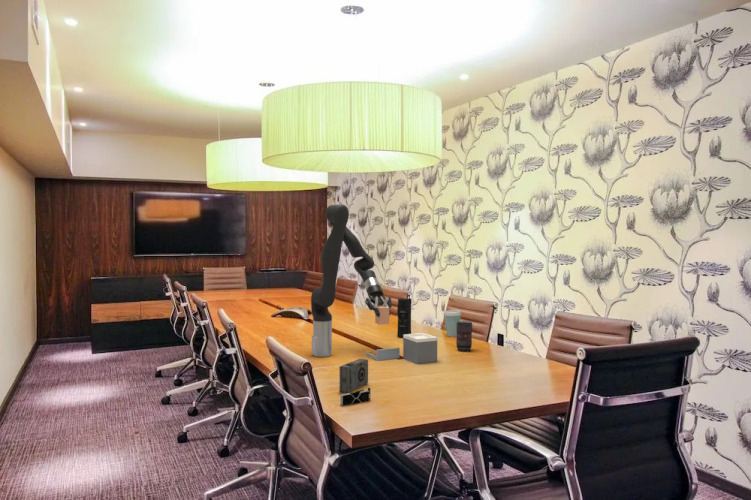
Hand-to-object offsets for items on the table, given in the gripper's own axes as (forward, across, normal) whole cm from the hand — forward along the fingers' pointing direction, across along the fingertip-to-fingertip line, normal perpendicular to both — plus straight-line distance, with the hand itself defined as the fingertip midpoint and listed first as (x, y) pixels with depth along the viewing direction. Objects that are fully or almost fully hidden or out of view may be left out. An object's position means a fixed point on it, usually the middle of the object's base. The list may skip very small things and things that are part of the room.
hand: (384, 315), depth 260 cm
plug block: (+2, 0, +4) cm, 5 cm away
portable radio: (-16, +35, +44) cm, 59 cm away
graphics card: (+57, -42, -27) cm, 76 cm away
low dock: (+13, 0, +16) cm, 21 cm away
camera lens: (+17, +45, +12) cm, 50 cm away
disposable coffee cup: (-10, +63, +38) cm, 74 cm away
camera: (+45, -35, -15) cm, 59 cm away
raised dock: (+23, +13, +6) cm, 27 cm away
